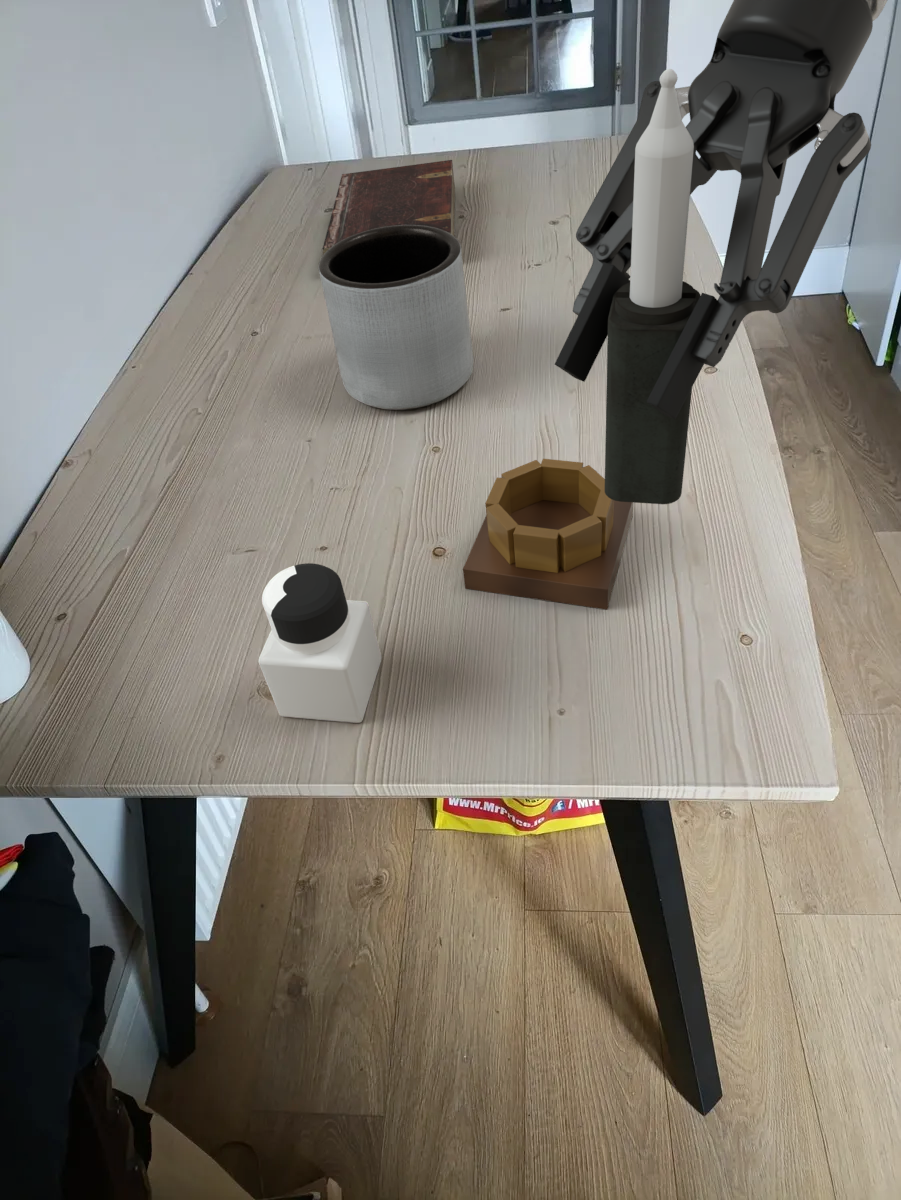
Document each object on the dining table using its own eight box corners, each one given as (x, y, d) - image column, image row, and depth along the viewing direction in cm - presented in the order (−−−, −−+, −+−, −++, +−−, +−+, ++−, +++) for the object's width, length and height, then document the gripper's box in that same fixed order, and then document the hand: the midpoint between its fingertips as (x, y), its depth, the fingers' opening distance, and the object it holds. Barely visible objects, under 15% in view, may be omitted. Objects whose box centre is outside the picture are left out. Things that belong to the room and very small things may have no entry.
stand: (632, 515, 85) (635, 460, 80) (607, 610, 76) (609, 554, 72) (503, 500, 88) (498, 446, 84) (465, 588, 80) (457, 535, 75)
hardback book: (345, 202, 149) (339, 172, 146) (455, 191, 148) (452, 159, 144) (327, 279, 129) (320, 245, 125) (454, 266, 127) (450, 232, 124)
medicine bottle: (383, 658, 75) (357, 554, 67) (362, 725, 70) (332, 622, 62) (304, 652, 76) (269, 550, 68) (278, 718, 72) (238, 616, 63)
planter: (368, 342, 114) (345, 222, 103) (487, 347, 110) (477, 222, 99) (325, 412, 103) (294, 286, 92) (455, 419, 99) (440, 289, 88)
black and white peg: (680, 505, 58) (722, 83, 40) (602, 500, 59) (609, 88, 41) (684, 459, 61) (725, 50, 44) (610, 455, 62) (621, 56, 45)
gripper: (998, 60, 46) (775, 465, 50) (688, 25, 56) (527, 362, 61) (985, -41, 39) (733, 431, 44) (640, -58, 50) (465, 323, 55)
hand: (614, 390), depth 52 cm, fingers closed on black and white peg, 6 cm apart
